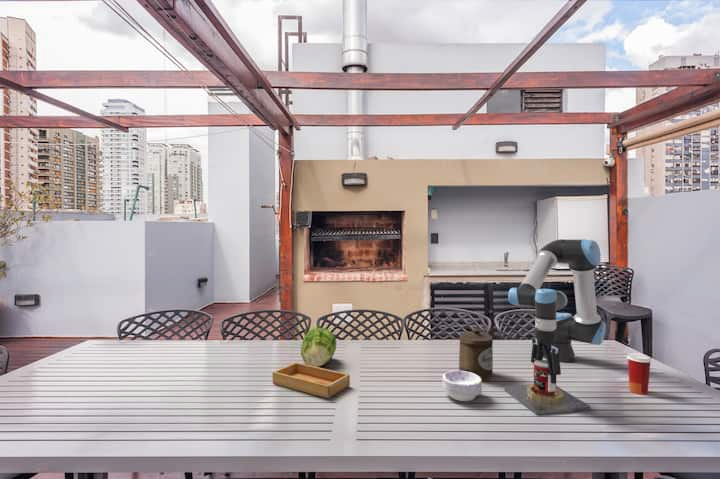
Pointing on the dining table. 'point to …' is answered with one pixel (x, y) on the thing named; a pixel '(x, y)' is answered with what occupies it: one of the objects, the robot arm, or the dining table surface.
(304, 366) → the tray
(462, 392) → the paper bowls
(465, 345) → the wooden container
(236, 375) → the dining table surface
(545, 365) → the canned food
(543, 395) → the collar plate
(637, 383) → the coffee cup
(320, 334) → the lettuce
